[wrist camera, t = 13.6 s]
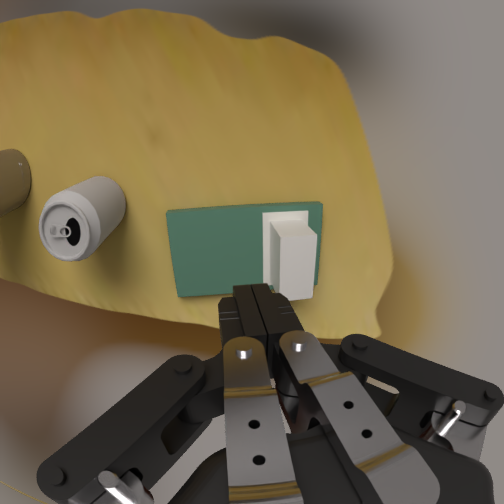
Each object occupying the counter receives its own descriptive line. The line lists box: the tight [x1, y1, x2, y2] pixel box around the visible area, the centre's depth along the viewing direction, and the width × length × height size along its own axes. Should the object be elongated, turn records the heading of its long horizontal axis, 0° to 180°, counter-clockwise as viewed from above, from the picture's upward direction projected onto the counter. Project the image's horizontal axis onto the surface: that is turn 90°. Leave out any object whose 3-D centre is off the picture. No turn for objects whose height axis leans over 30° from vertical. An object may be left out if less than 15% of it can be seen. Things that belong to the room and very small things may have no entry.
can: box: [39, 176, 126, 261], centre depth 28 cm, size 8×8×12 cm
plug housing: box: [270, 219, 317, 301], centre depth 35 cm, size 8×4×6 cm, turn 2°
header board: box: [166, 202, 323, 297], centre depth 37 cm, size 20×12×4 cm, turn 92°
